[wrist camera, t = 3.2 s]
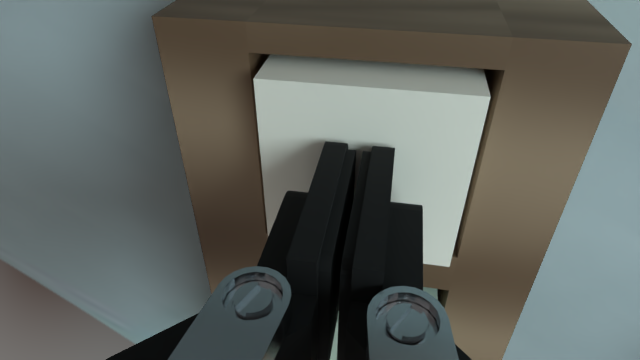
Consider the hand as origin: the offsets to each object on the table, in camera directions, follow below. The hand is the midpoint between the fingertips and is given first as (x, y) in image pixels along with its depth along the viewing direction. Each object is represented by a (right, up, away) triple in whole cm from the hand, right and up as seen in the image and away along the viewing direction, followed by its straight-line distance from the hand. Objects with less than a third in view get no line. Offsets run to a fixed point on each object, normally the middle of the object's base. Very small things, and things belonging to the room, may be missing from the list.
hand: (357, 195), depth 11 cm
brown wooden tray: (+1, -3, +8) cm, 8 cm away
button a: (+1, +2, +2) cm, 3 cm away
